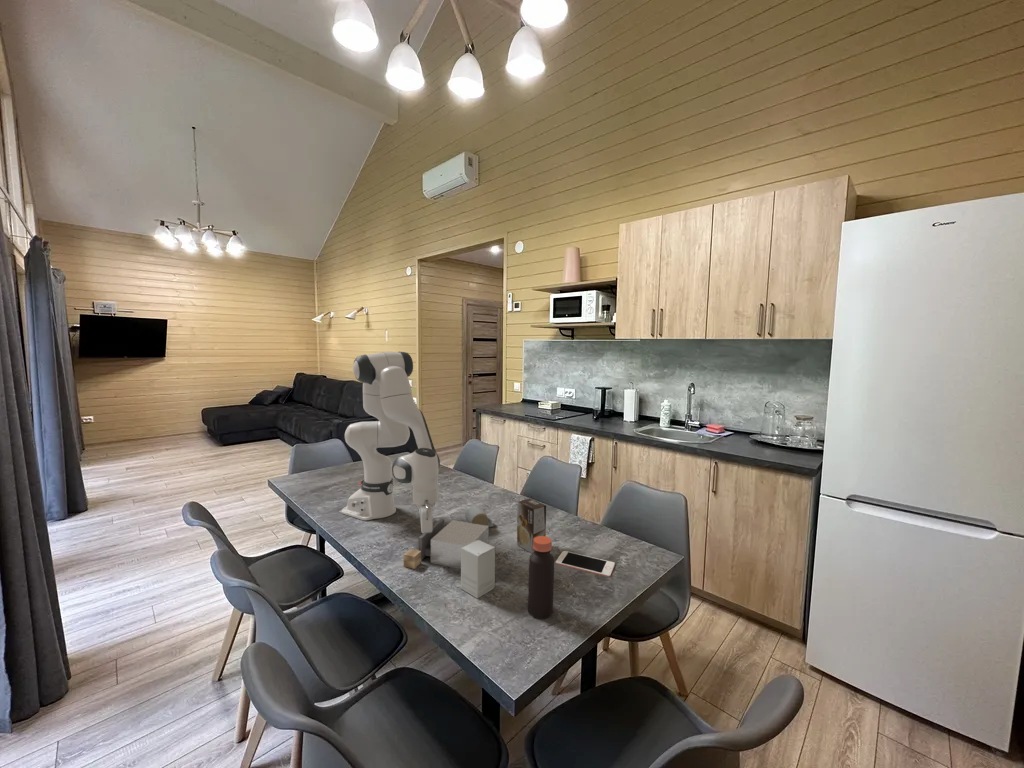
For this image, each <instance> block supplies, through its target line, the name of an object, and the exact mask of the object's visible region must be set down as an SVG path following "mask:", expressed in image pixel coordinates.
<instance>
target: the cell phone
mask: <svg viewBox="0 0 1024 768" xmlns="http://www.w3.org/2000/svg"><path fill="white" fill-rule="evenodd" d="M555 564H556V565H558V566H561V567H567V568H570V569H574V570H575V569H576V570H579V571H583V572H587V573H591V574H595V575H600V576H603V577H607V576H608V577H607V578H609V577H611V576H612V573H613V571H614V568H615V566H616V565H615V564H616V563H615V562H614V561H610V560H606V559H601V558H597V557H593V556H589V555H584V554H580V553H577V552H571V551H567V550H563V551H562V552H561V553H560V555H559V556H558V558H557V559H555Z"/></svg>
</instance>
